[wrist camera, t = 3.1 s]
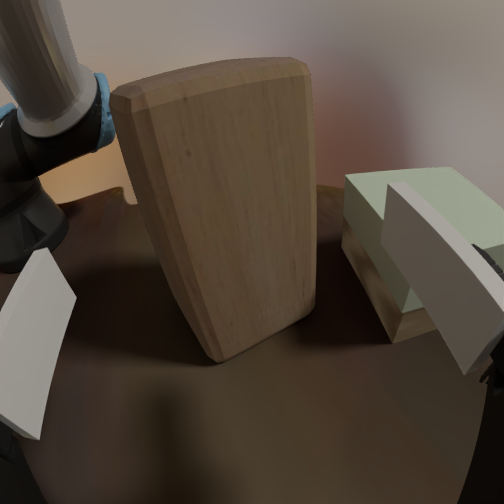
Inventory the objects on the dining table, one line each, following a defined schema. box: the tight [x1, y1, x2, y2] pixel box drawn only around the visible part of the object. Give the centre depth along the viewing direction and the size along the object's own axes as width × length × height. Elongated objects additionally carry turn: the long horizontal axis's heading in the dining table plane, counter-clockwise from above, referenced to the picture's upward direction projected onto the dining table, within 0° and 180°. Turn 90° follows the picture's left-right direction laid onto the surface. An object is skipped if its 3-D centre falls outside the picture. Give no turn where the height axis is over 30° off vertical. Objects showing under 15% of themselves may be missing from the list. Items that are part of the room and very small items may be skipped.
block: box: [108, 57, 317, 363], centre depth 21 cm, size 10×10×20 cm
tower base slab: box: [341, 215, 437, 344], centre depth 26 cm, size 13×13×4 cm
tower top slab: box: [344, 167, 504, 313], centre depth 23 cm, size 13×13×4 cm
